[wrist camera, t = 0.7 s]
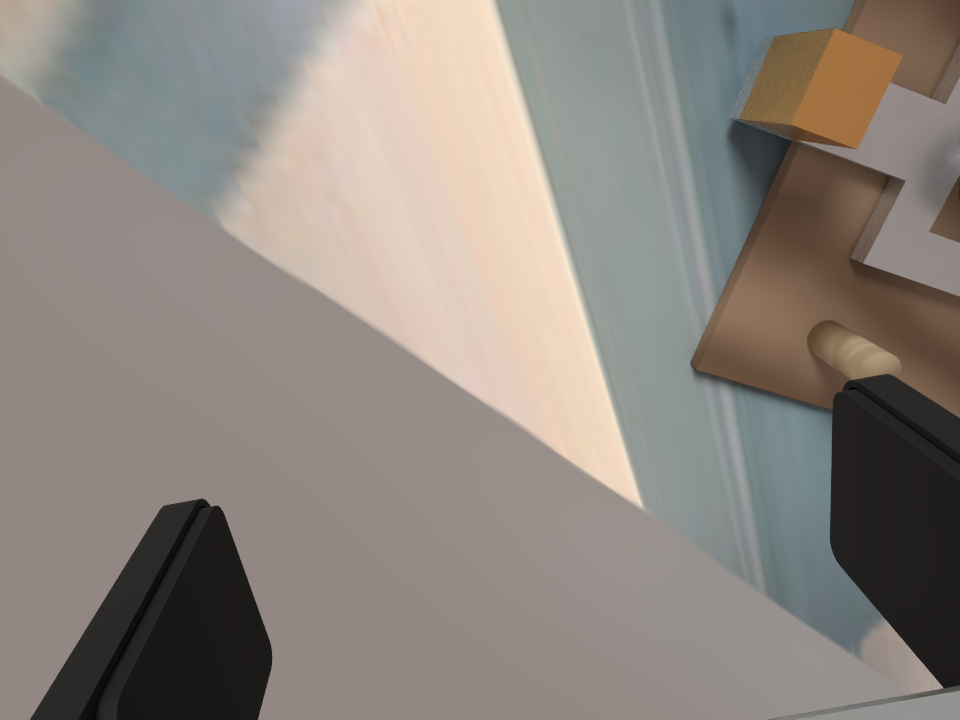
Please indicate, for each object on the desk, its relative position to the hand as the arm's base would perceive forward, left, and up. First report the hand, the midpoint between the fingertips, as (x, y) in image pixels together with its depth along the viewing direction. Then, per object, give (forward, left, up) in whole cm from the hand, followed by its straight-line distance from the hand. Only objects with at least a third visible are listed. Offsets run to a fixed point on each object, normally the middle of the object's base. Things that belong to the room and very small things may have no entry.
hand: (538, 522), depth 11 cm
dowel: (0, +21, -26) cm, 33 cm away
